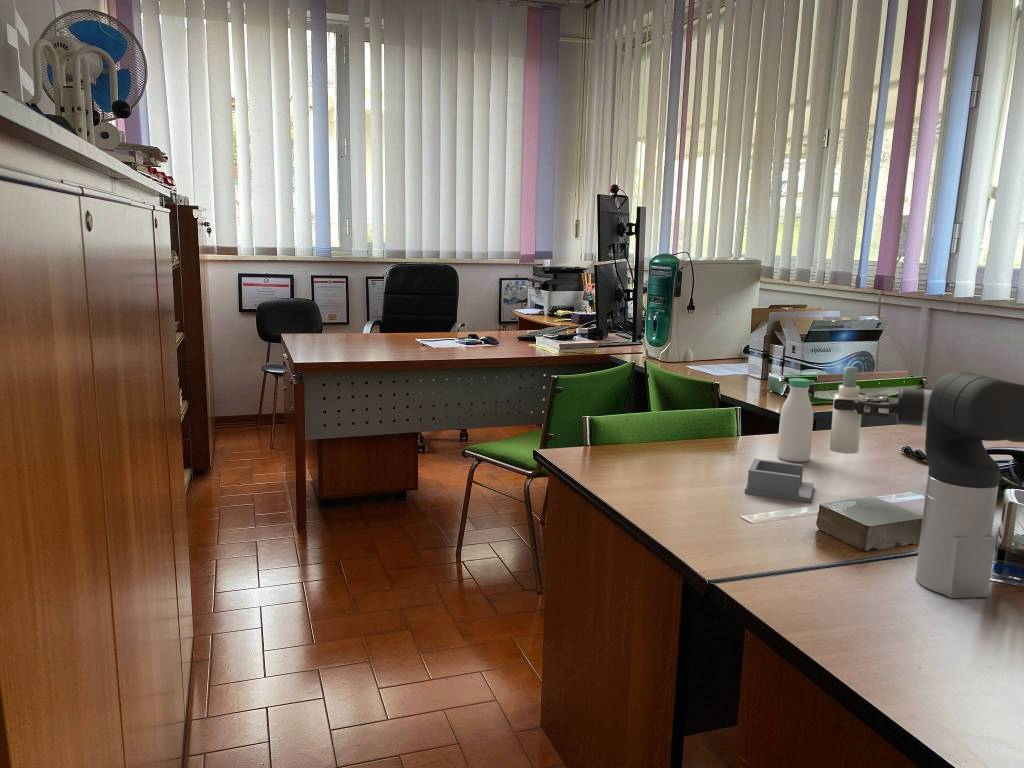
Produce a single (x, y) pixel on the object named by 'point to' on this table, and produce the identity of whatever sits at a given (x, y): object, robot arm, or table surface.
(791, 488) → the box
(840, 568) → the table surface
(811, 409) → the milk bottle
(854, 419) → the plastic bottle
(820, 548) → the table surface
